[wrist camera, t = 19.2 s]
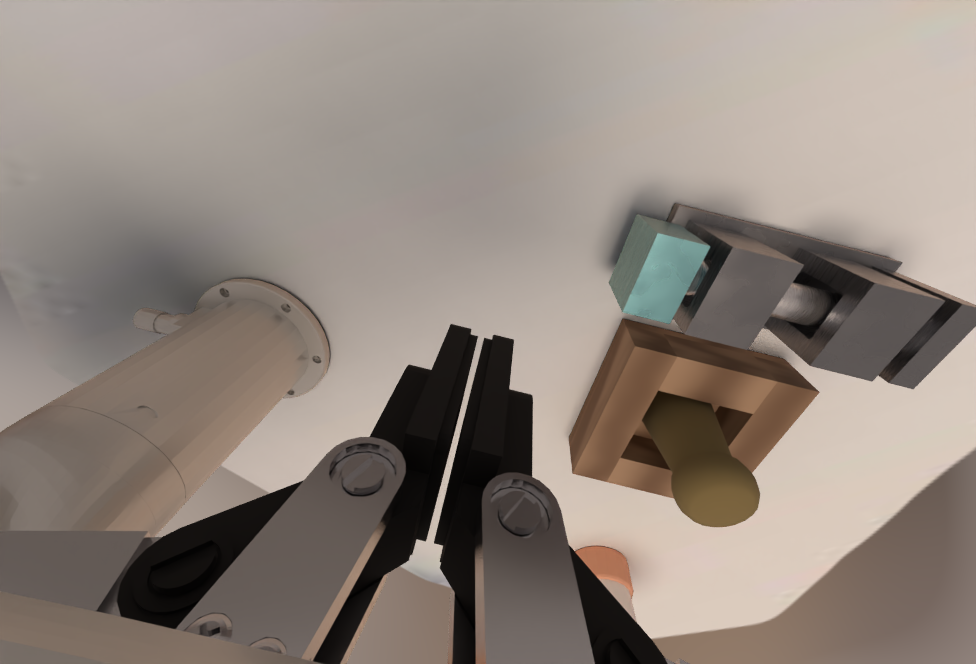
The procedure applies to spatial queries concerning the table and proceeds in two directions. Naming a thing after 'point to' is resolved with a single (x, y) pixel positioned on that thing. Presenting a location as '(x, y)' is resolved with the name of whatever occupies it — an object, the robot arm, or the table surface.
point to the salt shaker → (610, 573)
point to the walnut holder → (688, 373)
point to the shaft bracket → (850, 272)
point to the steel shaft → (689, 276)
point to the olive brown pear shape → (701, 462)
